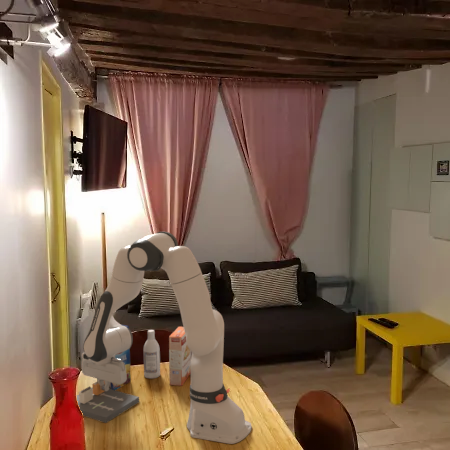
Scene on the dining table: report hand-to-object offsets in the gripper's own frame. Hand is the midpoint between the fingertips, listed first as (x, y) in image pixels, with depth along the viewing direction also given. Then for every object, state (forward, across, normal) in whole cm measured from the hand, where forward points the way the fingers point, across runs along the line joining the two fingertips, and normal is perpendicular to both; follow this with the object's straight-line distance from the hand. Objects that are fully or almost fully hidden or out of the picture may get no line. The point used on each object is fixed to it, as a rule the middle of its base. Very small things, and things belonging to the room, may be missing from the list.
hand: (104, 390), depth 188 cm
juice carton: (+4, +6, -12) cm, 14 cm away
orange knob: (+2, +3, 0) cm, 3 cm away
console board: (+4, -2, +4) cm, 6 cm away
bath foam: (+4, -2, -27) cm, 27 cm away
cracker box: (+4, -15, -30) cm, 34 cm away
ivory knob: (+2, +2, +7) cm, 8 cm away
